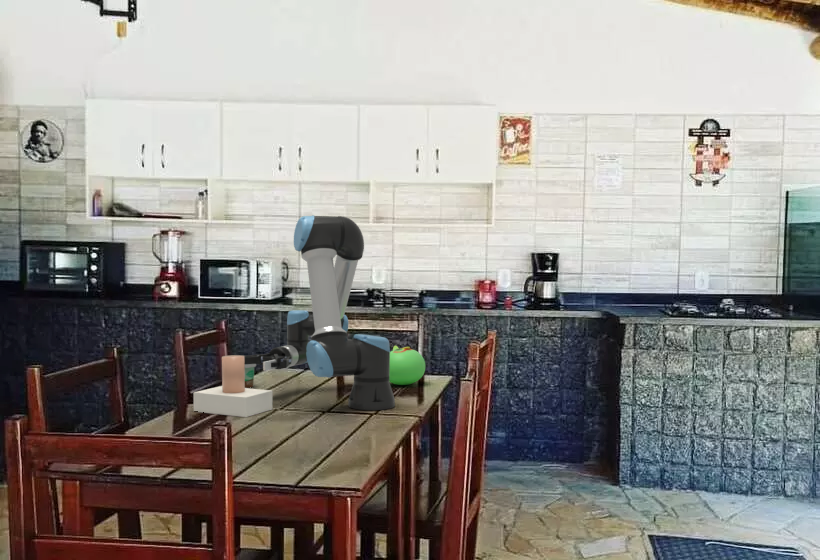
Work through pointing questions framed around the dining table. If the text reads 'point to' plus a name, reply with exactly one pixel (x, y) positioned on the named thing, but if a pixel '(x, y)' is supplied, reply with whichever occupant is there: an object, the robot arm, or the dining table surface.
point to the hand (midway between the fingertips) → (246, 365)
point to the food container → (249, 375)
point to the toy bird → (405, 366)
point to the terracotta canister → (233, 374)
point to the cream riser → (233, 402)
